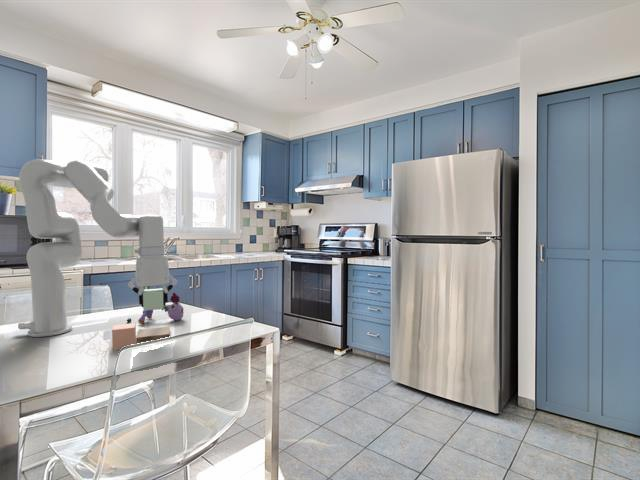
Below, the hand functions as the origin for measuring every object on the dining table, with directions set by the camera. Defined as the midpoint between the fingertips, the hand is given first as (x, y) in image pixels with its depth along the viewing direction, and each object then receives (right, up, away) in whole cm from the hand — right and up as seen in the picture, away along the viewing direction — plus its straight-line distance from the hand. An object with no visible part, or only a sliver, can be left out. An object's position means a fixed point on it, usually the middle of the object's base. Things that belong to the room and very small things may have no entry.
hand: (153, 305), depth 123 cm
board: (0, -11, 0) cm, 11 cm away
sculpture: (-13, -11, +11) cm, 20 cm away
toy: (-6, -10, +21) cm, 24 cm away
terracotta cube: (-5, -11, -9) cm, 15 cm away
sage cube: (0, -1, 0) cm, 1 cm away
